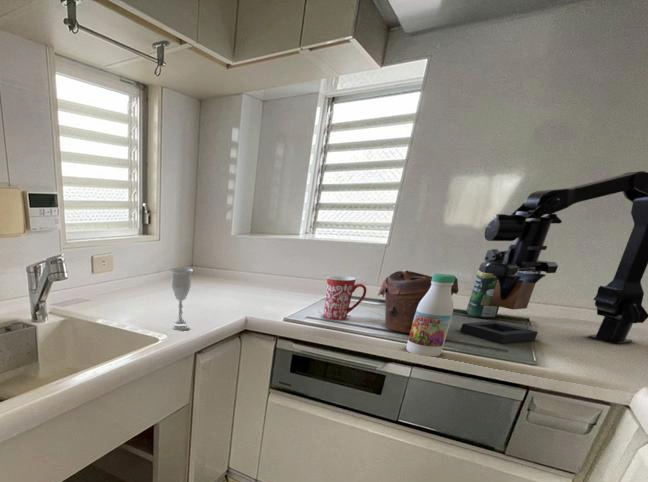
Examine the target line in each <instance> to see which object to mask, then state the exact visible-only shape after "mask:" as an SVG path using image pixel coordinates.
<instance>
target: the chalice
mask: <svg viewBox="0 0 648 482" xmlns="http://www.w3.org/2000/svg"><path fill="white" fill-rule="evenodd" d="M169 271H170V273H171V289H172V292H173V294H174V297H175V299H176V300H177V301H178V306H177V307H178V311H177V314H178V318H177V319H175V320H174V322H173V324H174V323H176V324H187V322H186V320H185V319H183V317H182V316H183V314H184V312H183V307H184V306H183V301H185V300H186V299H187V296H188V295H189V292H190V290H191V286H192V273H193V272H194V269H192V268H187V267H174V268H170V270H169ZM173 324H172V327H171V328H172V329H173V330H178V331H179V330H180V331H181V330H183V331H184V330H187V329H188V328H189V327H188V324H187V325H186V326H175V325H173Z"/></svg>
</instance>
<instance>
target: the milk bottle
mask: <svg viewBox="0 0 648 482" xmlns="http://www.w3.org/2000/svg"><path fill="white" fill-rule="evenodd" d="M455 276H456V275H454V274H450V275H449V273H434V274H432V276H431V277H432V281H431V283H432V284H431V287H430V289H429V291H428V292H427V294H426V295H425V296H424V297H423V298H422V300H421V301H420V303H419V305H418V307H417V310H416V313H415V317H414V320H413V324H412V328H411V331H410V334H409V335H408V340H407V344H406V351H407V352H408V353H410V354H413V355H417V356H421V357H429V358H430V357H432V358H433V357H434V358H435V357H439V356H440V355H441V354H442V352H443V349H444V345H445V341H446V339H447V335H448V332H449V327H450V324H451V321H452V317H453V314H454V301H453V300H454V299H453V295H451V287H452V285H453V282H454V281H455Z"/></svg>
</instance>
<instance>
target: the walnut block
mask: <svg viewBox="0 0 648 482" xmlns="http://www.w3.org/2000/svg"><path fill="white" fill-rule="evenodd" d="M535 286H536V283H530V282H523V280H521V279H519V281H518V282H517V284H516V285H515V287H514V288H513V290H512V291H511V293H510V294H509V296H508V297H507V298H506V299H505V300H503V299H501V296H500V285H499V280H498V281H497V283H496V286H495V290H494V293H493V296H492V299H491V302H490V305H494V306H499V308H503V309H507V310H525V309H527V308H528V305H529V303H530V300H531V298H532V295H533V292H534V289H535Z"/></svg>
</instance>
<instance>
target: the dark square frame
mask: <svg viewBox="0 0 648 482" xmlns="http://www.w3.org/2000/svg"><path fill="white" fill-rule="evenodd" d="M459 331H460V332H461V333H464V334H468V335H471V336H474V337H477V338H481V339H485V340H489V341H490V342H491V341H492V342H495V343H498V344H511V343H520V342H530V341H536V338H537V335H538V334H539V333H538V331H536V330H533V329H529V328H524V327H521V326H517V325H512V324H508V323H504V322H501V321H496V320H488V321H476V322H465V323H462V324H461V327H460V330H459Z"/></svg>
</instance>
